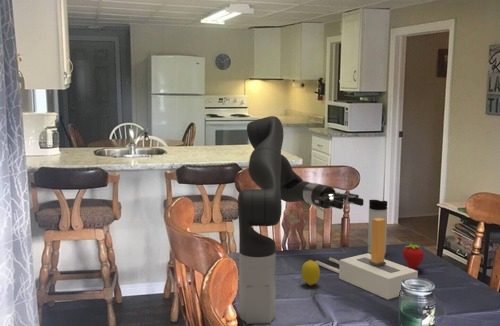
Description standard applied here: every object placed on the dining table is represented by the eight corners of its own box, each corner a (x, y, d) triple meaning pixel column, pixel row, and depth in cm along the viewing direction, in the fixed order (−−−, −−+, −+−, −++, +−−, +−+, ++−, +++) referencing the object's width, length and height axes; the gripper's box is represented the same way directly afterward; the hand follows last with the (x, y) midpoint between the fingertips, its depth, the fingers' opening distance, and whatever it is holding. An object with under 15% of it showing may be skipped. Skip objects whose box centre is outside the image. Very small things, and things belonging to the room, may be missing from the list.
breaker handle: (385, 264, 158) (387, 219, 157) (378, 266, 157) (379, 221, 155) (376, 261, 161) (378, 217, 160) (369, 262, 160) (370, 218, 158)
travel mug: (364, 255, 188) (366, 199, 185) (371, 250, 193) (373, 196, 191) (381, 258, 185) (383, 201, 182) (388, 253, 190) (390, 198, 187)
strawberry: (412, 275, 168) (413, 244, 167) (397, 267, 175) (398, 238, 174) (427, 272, 170) (429, 242, 169) (412, 265, 177) (413, 236, 176)
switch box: (417, 290, 155) (417, 270, 154) (387, 299, 148) (388, 278, 148) (367, 271, 172) (367, 252, 171) (339, 278, 165) (339, 259, 164)
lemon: (304, 281, 163) (305, 256, 162) (322, 284, 160) (322, 258, 159) (298, 287, 158) (298, 261, 157) (316, 290, 156) (316, 263, 154)
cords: (359, 271, 171) (359, 268, 171) (342, 276, 167) (342, 272, 167) (330, 260, 183) (330, 256, 183) (314, 263, 179) (314, 260, 179)
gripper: (302, 186, 176) (335, 194, 162) (335, 182, 183) (369, 189, 170) (302, 208, 177) (335, 219, 163) (335, 203, 184) (368, 212, 171)
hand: (352, 204), depth 166 cm, fingers open, 8 cm apart
